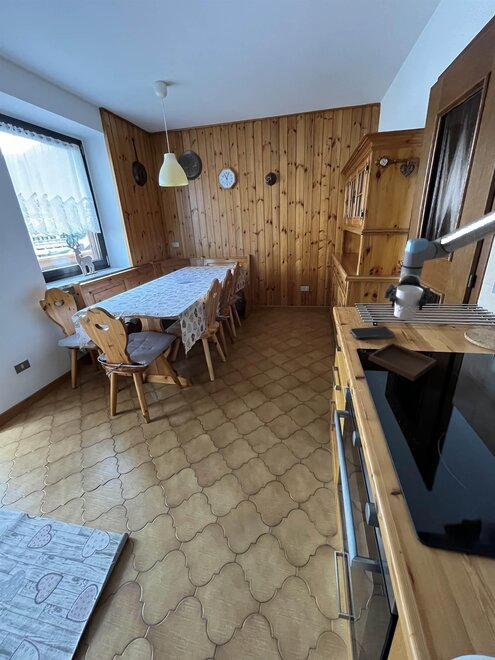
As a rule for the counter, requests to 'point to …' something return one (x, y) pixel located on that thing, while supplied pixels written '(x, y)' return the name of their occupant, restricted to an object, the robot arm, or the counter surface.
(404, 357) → the tray
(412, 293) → the white cup
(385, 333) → the phone
